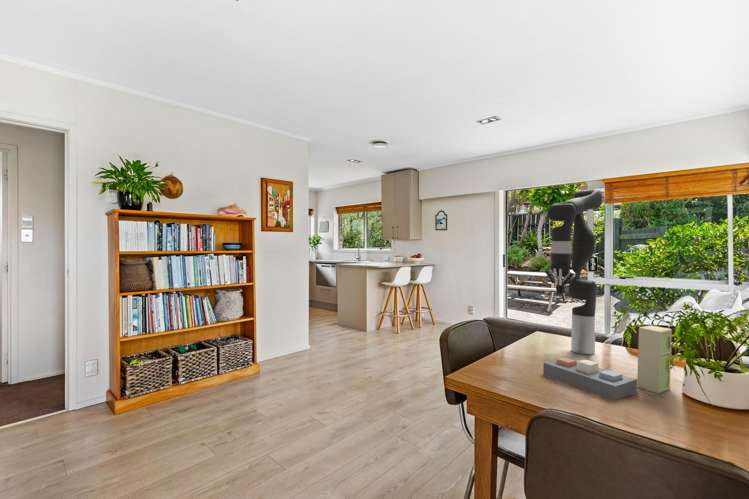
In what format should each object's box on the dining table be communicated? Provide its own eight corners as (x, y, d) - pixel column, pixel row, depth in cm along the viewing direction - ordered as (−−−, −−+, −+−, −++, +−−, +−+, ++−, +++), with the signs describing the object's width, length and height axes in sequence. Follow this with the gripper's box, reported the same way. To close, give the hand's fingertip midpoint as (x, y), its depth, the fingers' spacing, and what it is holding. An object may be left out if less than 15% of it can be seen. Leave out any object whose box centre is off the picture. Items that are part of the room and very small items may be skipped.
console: (564, 369, 147) (564, 357, 147) (636, 392, 124) (637, 379, 124) (543, 374, 141) (543, 362, 141) (615, 400, 118) (615, 386, 118)
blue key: (607, 381, 129) (607, 369, 129) (621, 386, 125) (622, 374, 125) (599, 383, 126) (599, 372, 126) (613, 388, 122) (614, 376, 122)
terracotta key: (564, 367, 143) (564, 357, 143) (576, 371, 139) (576, 360, 139) (556, 369, 140) (556, 359, 140) (568, 373, 136) (568, 362, 136)
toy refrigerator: (660, 394, 123) (662, 331, 123) (636, 386, 129) (638, 327, 129) (673, 390, 127) (674, 329, 126) (649, 383, 133) (650, 325, 133)
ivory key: (584, 370, 136) (585, 359, 136) (598, 374, 132) (598, 363, 132) (576, 372, 133) (577, 361, 133) (590, 376, 129) (590, 365, 129)
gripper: (582, 252, 148) (581, 295, 149) (552, 251, 160) (551, 291, 160) (570, 252, 145) (569, 297, 145) (540, 252, 156) (540, 292, 157)
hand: (560, 294), depth 153 cm, fingers closed
